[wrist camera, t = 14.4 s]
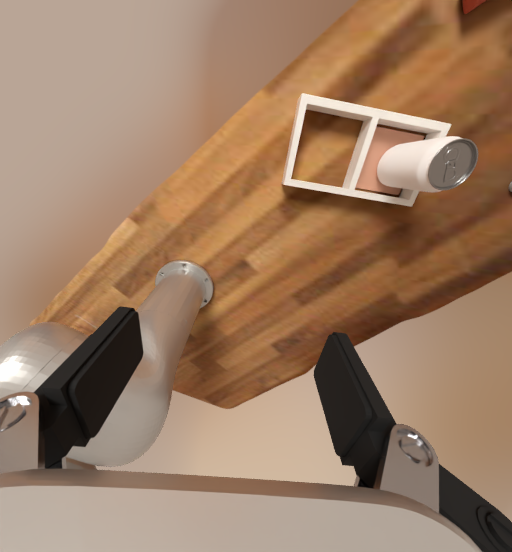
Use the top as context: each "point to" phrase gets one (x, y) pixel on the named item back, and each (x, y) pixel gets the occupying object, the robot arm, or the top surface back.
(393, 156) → the can
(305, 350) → the top surface
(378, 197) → the caddy
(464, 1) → the mallet
